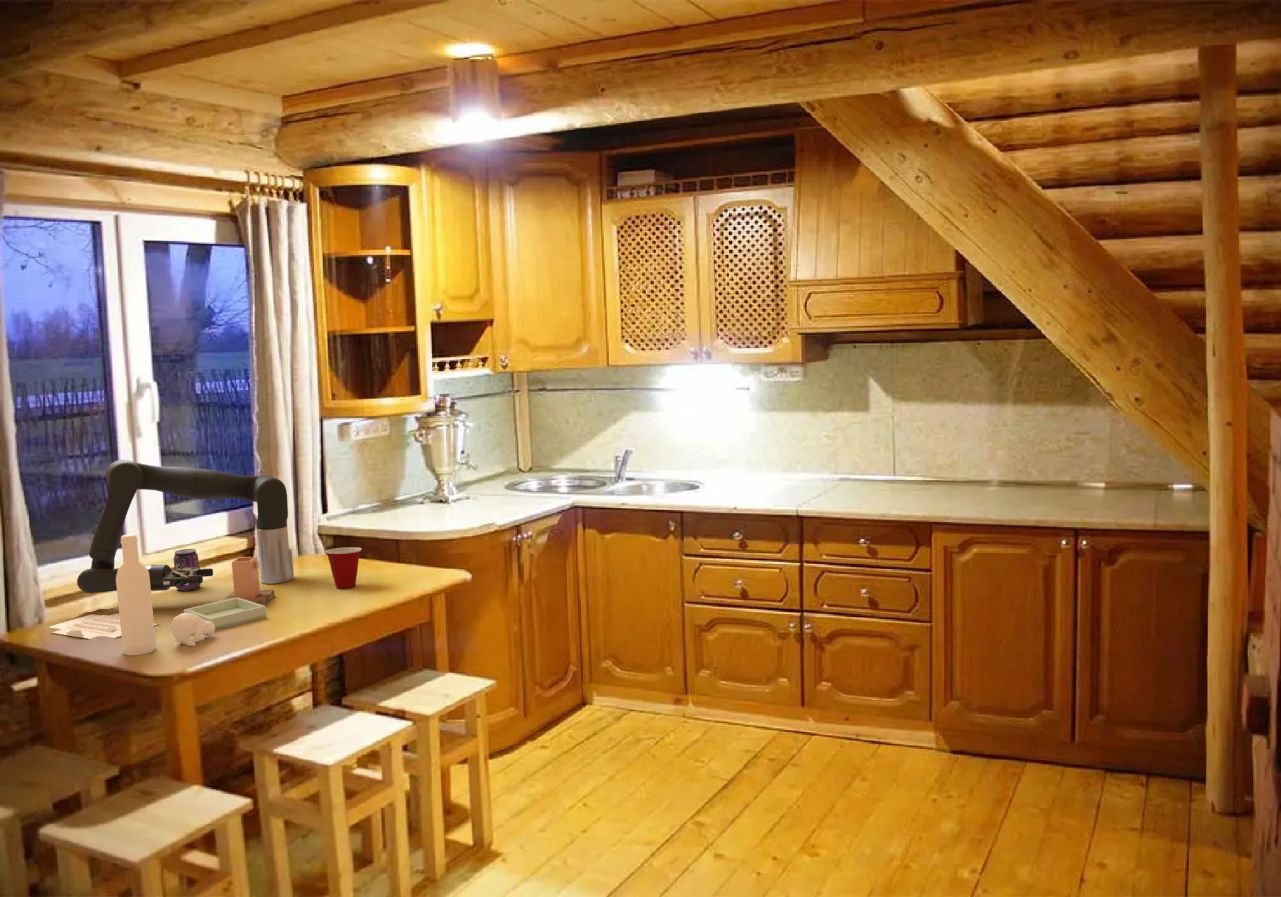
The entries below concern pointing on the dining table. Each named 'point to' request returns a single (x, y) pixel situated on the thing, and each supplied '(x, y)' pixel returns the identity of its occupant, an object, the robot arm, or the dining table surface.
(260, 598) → the stand
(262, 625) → the dining table surface
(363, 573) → the dining table surface
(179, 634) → the animal figurine
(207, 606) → the tray
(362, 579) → the dining table surface
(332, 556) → the plastic cup
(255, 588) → the sleeve
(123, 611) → the bottle
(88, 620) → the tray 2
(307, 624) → the dining table surface
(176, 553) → the beverage can
